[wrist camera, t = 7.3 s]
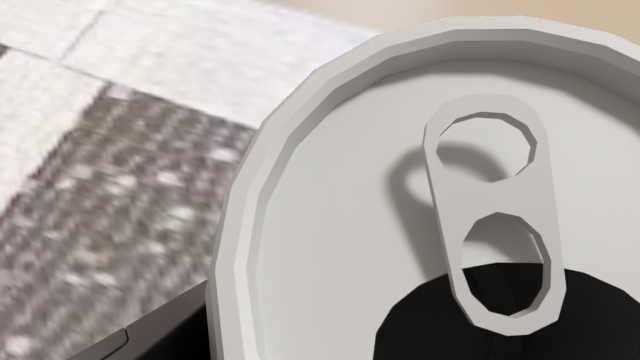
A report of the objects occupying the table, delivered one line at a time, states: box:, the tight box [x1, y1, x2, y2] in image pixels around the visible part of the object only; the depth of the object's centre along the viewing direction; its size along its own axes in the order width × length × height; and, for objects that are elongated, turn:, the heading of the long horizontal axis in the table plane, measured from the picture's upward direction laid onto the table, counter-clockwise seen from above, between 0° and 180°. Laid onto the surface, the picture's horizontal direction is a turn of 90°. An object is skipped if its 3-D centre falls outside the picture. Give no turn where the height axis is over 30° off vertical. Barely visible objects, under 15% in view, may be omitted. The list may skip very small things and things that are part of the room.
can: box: [205, 16, 640, 360], centre depth 9 cm, size 8×8×12 cm
